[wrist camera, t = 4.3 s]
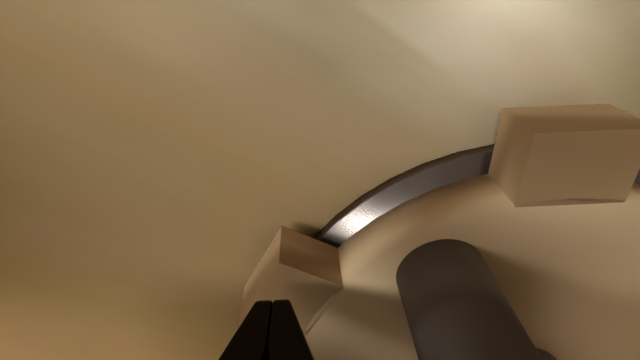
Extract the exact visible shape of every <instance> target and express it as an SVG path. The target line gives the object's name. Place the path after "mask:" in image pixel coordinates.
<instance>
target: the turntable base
mask: <svg viewBox="0 0 640 360" xmlns="http://www.w3.org/2000/svg"><path fill="white" fill-rule="evenodd" d="M494 145H495V144H493V145H488V146H483V147H479V148H474V149H469V150H465V151H460V152H456V153H453V154H450V155H447V156H444V157H441V158H438V159H435V160H432V161H429V162H426V163H423V164H421V165H419V166H417V167H414V168H412V169H410V170H408V171H406V172H404V173H401V174H399V175H397V176H395V177H393V178H390V179H389V180H387V181H385V182H384V183H382V184H380V185H379V186H377V187H375V188H374V189H372V190H370V191H369V192H367V193H365V194H364V195H362V196H361V197H359V198H358V199H357V200H355V201H354V202H353V203H351V204H350V205H349V206H347V207H346V208H345V209H344V210H342V211H341V212H340V213H338V214H337V215H336V216H335V217H334V218H333V219H332V220H331V221H330V222H329V223H328V224H327V225H326V226H325V227H324V228H323V229H322V230H321V231H320V232H319V233H318V234H316V235H315V237H314V239H316V240H319V241H321V242H324V243H326V244H329V245H331V246H334V247H336V248H339V247H340V246H341V245H342V244H343V243H344V242H345V241H346V240H347V239H348V238H349V237H351V236H352V235H353V234H355V233H356V232H357V231H359V230H360V229H362V228H363V227H364V226H366V225H367V224H368V223H370V222H371V221H373V220H374V219H375V218H377V217H379V216H381V215H382V214H384V213H386V212H388V211H389V210H391V209H393V208H395V207H396V206H398V205H400V204H402V203H404V202H406V201H408V200H410V199H413V198H415V197H417V196H420V195H422V194H424V193H426V192H429V191H431V190H433V189H436V188H439V187H442V186H445V185H448V184H451V183H454V182H458V181H461V180H464V179H467V178H471V177H475V176H480V175H485V174H488V172H489V168H490V163H491V159H492V154H493V150H494ZM634 182H635V183H637V184H639V185H640V169H639V172H638V174H637V176H636V178H635V180H634Z"/></svg>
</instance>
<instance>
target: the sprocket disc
mask: <svg viewBox="0 0 640 360" xmlns="http://www.w3.org/2000/svg"><path fill="white" fill-rule="evenodd" d="M639 169H640V119H638V118H636V117H634V116H632V115H630V114H628V113H626V112H624V111H622V110H620V109H618V108H616V107H614V106H612V105H610V104H595V105H570V106H544V107H519V108H503V109H502V114H501V118H500V123H499V127H498V132H497V136H496V141H495V145H494V150H493V154H492V159H491V163H490V168H489V172H488V174H485V175H480V176H475V177H471V178H467V179H464V180H461V181H458V182H454V183H451V184H448V185H445V186H442V187H439V188H436V189H433V190H431V191H429V192H426V193H424V194H422V195H420V196H417V197H415V198H413V199H410V200H408V201H406V202H404V203H402V204H400V205H398V206H396V207H395V208H393V209H391V210H389V211H388V212H386V213H384V214H382V215H381V216H379V217H377V218H375V219H374V220H373V221H371V222H370V223H368V224H367V225H366V226H364V227H363V228H362V229H360V230H359V231H357V232H356V233H355V234H353V235H352V236H351V237H349V238H348V239H347V240H346V241H345V242H344V243H343V244H342V245H341V246H340V247H339V248H336V247H334V246H331V245H329V244H326V243H324V242H321V241H319V240H316V239H314V238H311V237H309V236H306V235H304V234H301V233H299V232H296V231H294V230H291V229H289V228H286V227H284V226H281V227H280V229H279V230H278V232H277V234H276V235H275V237H274V239H273V240H272V242H271V244H270V245H269V247H268V249H267V250H266V252H265V254H264V255H263V257H262V258H261V260H260V262H259V263H258V265H257V267H256V268H255V270H254V272H253V273H252V275H251V277H250V278H249V280H248V282H247V283H246V285H245V286H244V292H243V298H242V304H241V310H240V316H239V322H238V327H240V325H241V323H242V322H243V320H244V319H245V317H246V316H247V314H248V312H249V311H250V309H251V308H252V306H253V305H254V303H255V302H256V301H261V300H271V301H272V302H273V301H274V300H280V299H288V300H290V302H291V304H292V307H293V309H294V311H295V314H296V316H297V319H298V321H299V324H300V326H301V328H302V331H303V333H304V336H305V338H306V341H307V343H308V345H309V348H310V350H311V353H312V355H313V358H314V360H640V185H639V184H637V183H635V182H634V180H635V178H636V176H637V174H638V172H639Z"/></svg>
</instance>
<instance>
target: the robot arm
mask: <svg viewBox="0 0 640 360" xmlns="http://www.w3.org/2000/svg"><path fill="white" fill-rule="evenodd" d="M219 360H314V358H313V355H312V353H311V350H310V348H309V345H308V343H307V341H306V338H305V336H304V333H303V331H302V328H301V326H300V324H299V321H298V319H297V316H296V314H295V311H294V309H293V307H292V304H291V302H290V300H288V299H280V300H274V301H273V302H272V301H271V300H261V301H256V302H255V303H254V305H253V306H252V308H251V309H250V311H249V312H248V314H247V316H246V317H245V319H244V320H243V322H242V323H241V325H240V327H239V328H238V330H237V331H236V333H235V334H234V336H233V338H232V339H231V341H230V342H229V344H228V346H227V347H226V349H225V350H224V352H223V353H222V355H221V357H220V358H219Z"/></svg>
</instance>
